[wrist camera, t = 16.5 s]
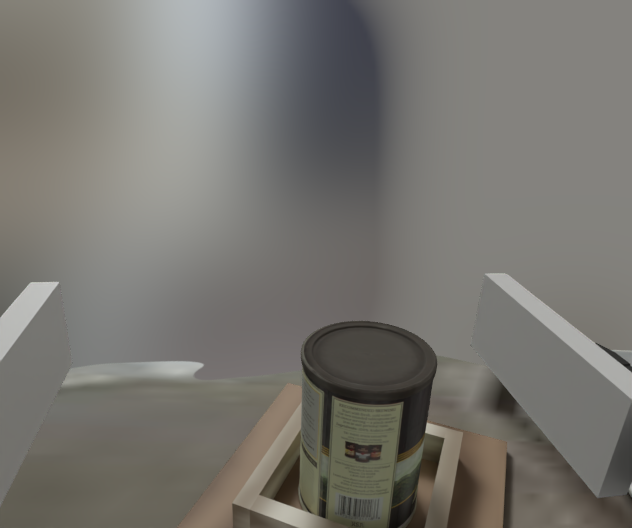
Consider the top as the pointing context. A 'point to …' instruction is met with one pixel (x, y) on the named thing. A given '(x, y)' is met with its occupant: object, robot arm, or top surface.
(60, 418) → the top surface
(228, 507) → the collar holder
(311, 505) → the coffee can
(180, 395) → the top surface
